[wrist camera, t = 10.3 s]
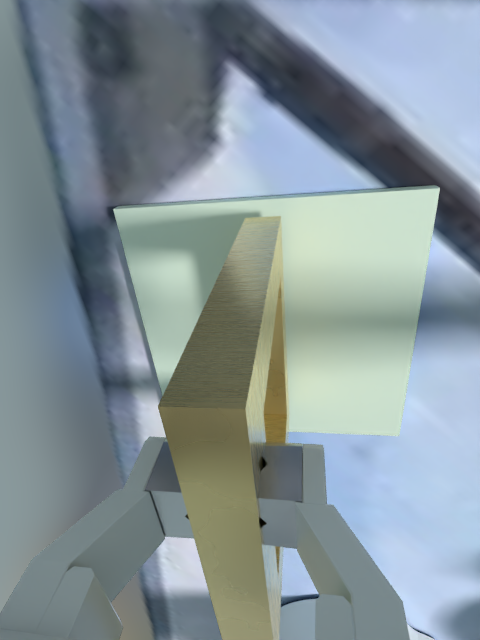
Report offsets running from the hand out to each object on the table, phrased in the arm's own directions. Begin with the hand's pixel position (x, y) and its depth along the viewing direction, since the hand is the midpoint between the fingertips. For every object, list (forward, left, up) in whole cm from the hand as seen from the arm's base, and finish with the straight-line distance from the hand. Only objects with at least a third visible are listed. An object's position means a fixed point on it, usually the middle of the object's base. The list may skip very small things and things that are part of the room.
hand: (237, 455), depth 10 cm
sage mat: (-3, 0, -12) cm, 12 cm away
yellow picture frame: (-2, 0, -10) cm, 10 cm away
